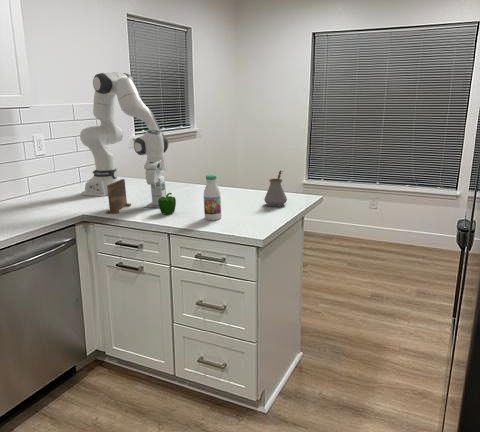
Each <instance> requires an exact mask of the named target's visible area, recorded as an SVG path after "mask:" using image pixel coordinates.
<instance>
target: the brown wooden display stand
mask: <svg viewBox="0 0 480 432" xmlns="http://www.w3.org/2000/svg"><path fill="white" fill-rule="evenodd" d="M107 190H108V195H107V197H108V199H107V200H108V205H109V206H108V207H109V209H108V210H105V214H107V215H108V214H109V215H110V214H111V215H117V214H120V211H121V210H122V209H124V208H126V207H127V208H129V207H131V206H132V203H130V202H129V203H128V201H127V190H126V180H125V179H124V178H121V179H119V180H117V181H116V182H114V183H112V184H110V185H107Z"/></svg>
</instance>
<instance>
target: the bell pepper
mask: <svg viewBox="0 0 480 432" xmlns="http://www.w3.org/2000/svg"><path fill="white" fill-rule="evenodd" d="M172 194H173V193H172V192H168V193H166V197H161V198H159V200H158V204H159V208H158V209H159V210H160V213H161V214H164V215H166V216H167V215H172V214H173V213H175V211H176V205H177V202H176V201H177V199H176V196H171V195H172Z"/></svg>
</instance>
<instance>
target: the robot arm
mask: <svg viewBox="0 0 480 432" xmlns="http://www.w3.org/2000/svg"><path fill="white" fill-rule="evenodd" d="M134 80H135V79H134V78H133V76H132V75H131V74H128V73H126V72H124V73H123V72H106V73H104V72H100V73H97V74H95V75H94V77H93V79H92V85H93V88H94V95H93V107H92V114H93V116H94V117H95V118H96V119H97V120H98V121H100V125H97V126H96V125H95V126H89V127H86V128H83V129H82V130H81V131H80V134H79V139H80V141H81V144H83V145H84V146H85V147H87V148H88V149H89V150H90V152H91V153H92V156H93V159H94V165H95V166H94V167H95V169H94V170H93V171H92V173H91V174H93V176H92V177H91V178H90V179H89V180H88V181H86V183H85V186H84V190H83V191H82V192H80V194H81V196H91V197H105V196H108V190H107V185H110V184H112V183H114V182H116V181H118V171H117V168H116V161H115V155H114V154H113V153H112V152H111V151H108V150H107V148H106V146H107V145H114V144H117V143H120V142H122V140H123V137H124V131H123V129H122V128H121V127H120V125H118V124H117V123H116V119H115V103H116V102H115V101H116V100H115V97H117V101H118V104H119V107H120V108H121V111H122V112H123V113H124V114H125V115H127V116H129V117H133V118H136V119H137V120H138V119H139V120H140V121H142V122H144V123H145V125H146V127H147V129H148V130H147V131H146V132H145V134H143V135H141V136H139V137H137V138H135V140H134V141H133V150H134V151H135V153H136V154H137V155H138V156H146V162H145V163H144V164H143V168H144V170H145V180H146V181H145V182H146V183H147V185H150V187H151V186H152V189H153V192H156V191H157V188H156V183H157V182H159V178H160V177H161V176H164V178H165V179H166V178H168V169H167V165H166V157H165V153H166V152H167V150H168V148H169V141H168V139H167V138H168V137H166V136H165V135H164V133H163V132H162V129H161V127H160V126H159V123H158V121H157V119H156V117H155V116H154V113H153V112H152V110H151V108H149V106H146V104H145V103H144V102H143V100H142V99H141V96H140V95H139V91H138V88H137V86H136V84H135V81H134Z"/></svg>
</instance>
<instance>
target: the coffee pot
mask: <svg viewBox="0 0 480 432" xmlns="http://www.w3.org/2000/svg"><path fill="white" fill-rule="evenodd" d="M283 173H284V172H283V170H279V171H278V175H277V178H269V179H268V181H269V183H270V184H269V187H268V190H267V192H266V194H265V197H264V199H263V200H264V202H265V203H266V205H268V206H269V207H274V208H275V207H276V208H278V207H282V206H284V204H286V203H287V201H288V198H287V195H286V194H285V193H286V192H285V191H284V188H283V185H282V184H281V183H282V182H283V179H281V174H283Z"/></svg>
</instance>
